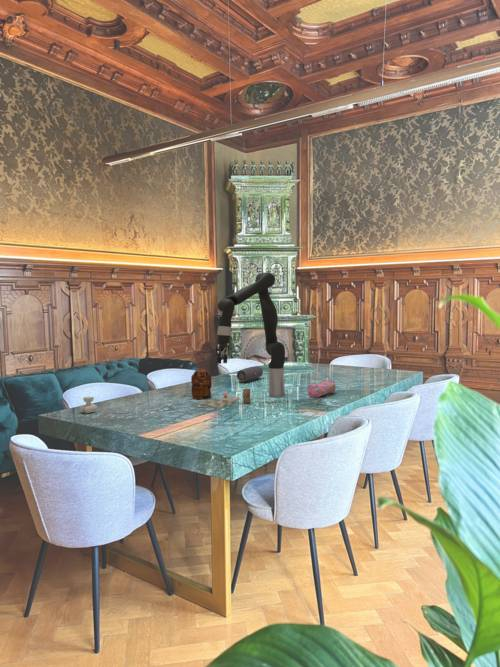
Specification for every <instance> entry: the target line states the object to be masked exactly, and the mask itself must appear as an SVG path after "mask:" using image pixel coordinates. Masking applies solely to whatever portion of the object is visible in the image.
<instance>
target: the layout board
mask: <svg viewBox="0 0 500 667" xmlns="http://www.w3.org/2000/svg"><path fill="white" fill-rule="evenodd" d="M233 404H235V401H229V400H223V399H221V398H214V399H209V400H206V401H202V402H199V406H203V407H209V408H216V409H220V408H224V407H227V406H230V405H233Z"/></svg>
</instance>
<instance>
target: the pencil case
mask: <svg viewBox="0 0 500 667" xmlns="http://www.w3.org/2000/svg"><path fill="white" fill-rule="evenodd" d="M335 392H336V383H335V382H334V381H333V379H327V380H325V381H323V382H320V383H319V382H318V383H312V384H310V385H308V387H307V395H308V396H309V398H311V399H318V398H320V397H322V396H324V395H330V394H334V393H335ZM329 393H330V394H329Z"/></svg>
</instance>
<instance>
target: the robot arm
mask: <svg viewBox="0 0 500 667" xmlns="http://www.w3.org/2000/svg"><path fill="white" fill-rule="evenodd" d="M275 282H276V277H275V275H274V274H273V273H272V272H261V273H258V274H257V275H256V276H255V281H254V282H253V283H251V284H249V285H247V286H244V287H242V288H241V289H240V288H239V289H238V290H237V291H235V292H234V293H232V294H230V295H229V296H226V297H224V298H222V299H220V300H219V301H218V303H217V309H218V311H220V312H222V314H221V316H219V317H218V328H217V332H216V333H217V338H216V346H215V347H216V348H215V356H216V358H217V359H216V364H220V365H221V364H222V363H223V364H227V363H228V357H229V356H230V352H231V351H230V349H231V345H230V344H231V335H232V327H231V326H232V318H233V317H234V316H233V315H234V312H235V306H238V305H240V304H242V303H244V302H245V301H247V300H249V299H251V297H254V296H255V295H256V294H257V295H258V299H259V302H260V303H259V304H260V305H259V306H260V310H261V318H262V322H263V329H264V335H265V349H266V353H267V354H268V355H269V356H270V362H269V363H268V364H267V365H268V396H269V397H272V398H281V397H284V396H285V395H286V394H285V392H286V391H285V385H286V384H285V379H284V378H285V375H284V374H285V372H284V365H285V361H286V348H285V345H284V344H283V343H282V342H280V341H278V337H277V336H278V335H277V328H278V323H279V322H278V320H279V318H278V310H277V307H276V305H275V303H274V302H273V300H272V298H271V296H270V291H269V288H272V287H273V286H274V285H275ZM217 343H218V344H217ZM222 356H223V360H222Z"/></svg>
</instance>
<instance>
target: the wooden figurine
mask: <svg viewBox="0 0 500 667" xmlns="http://www.w3.org/2000/svg"><path fill="white" fill-rule="evenodd" d="M190 379H191V380H190V381H191V396H192V397H191V398H192V400H196V401H197V400H200V401H201V400H205V399H206V400H207V399H211V398H212V390H211V388H212V384H213V383H212V375H211V373H210V372H208V371H207V370H206V369H205V368H197V369H196V370H195V371H194V372H193V374H192V375H191V377H190Z"/></svg>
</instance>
